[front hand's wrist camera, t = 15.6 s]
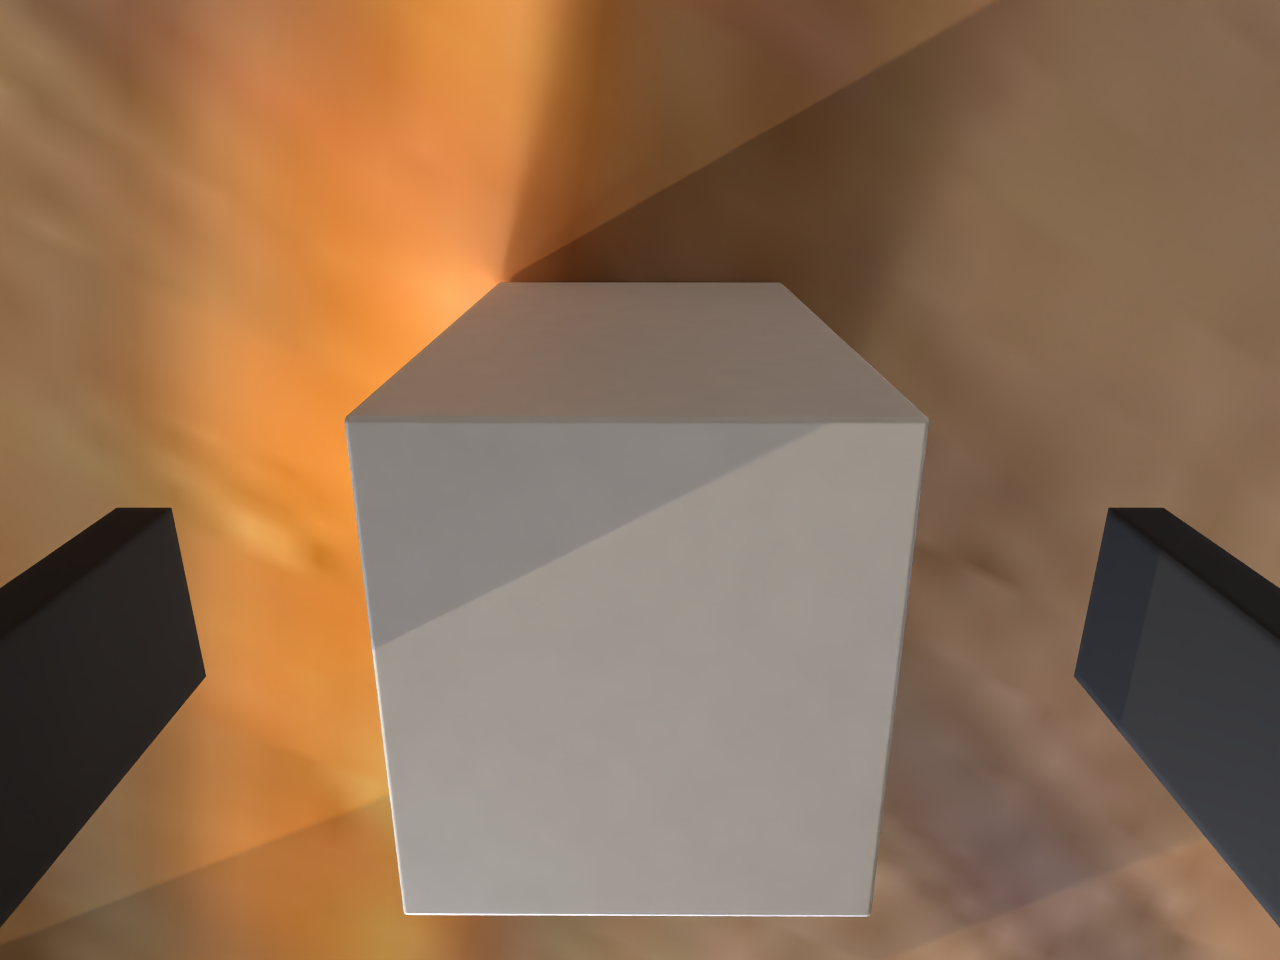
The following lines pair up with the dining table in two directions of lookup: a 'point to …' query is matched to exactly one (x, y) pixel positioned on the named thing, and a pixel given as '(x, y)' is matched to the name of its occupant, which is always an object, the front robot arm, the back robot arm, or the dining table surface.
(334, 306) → the dining table surface
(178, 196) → the dining table surface
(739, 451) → the block
